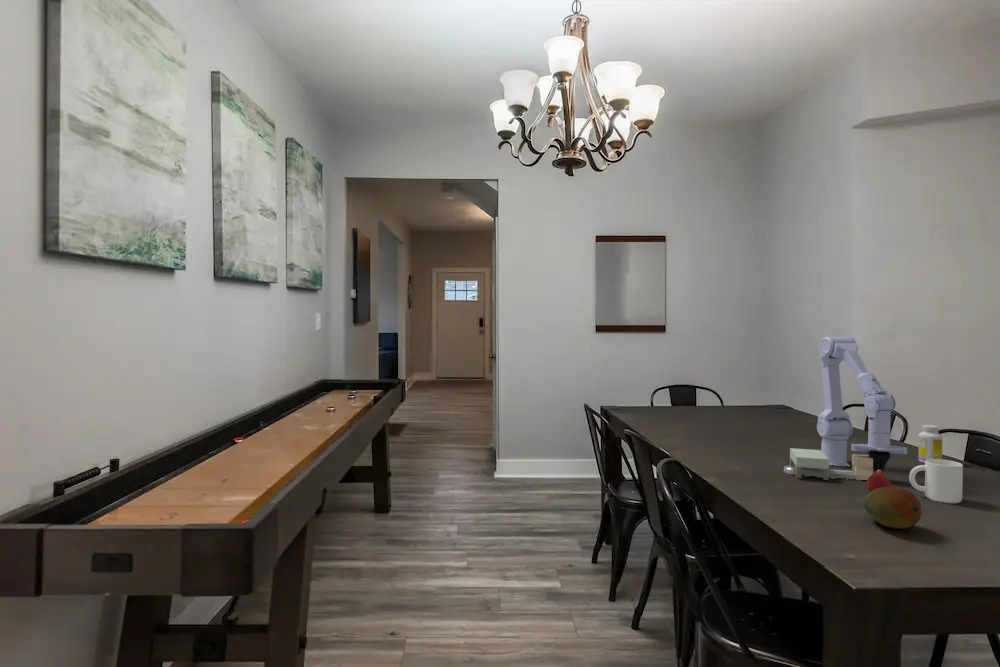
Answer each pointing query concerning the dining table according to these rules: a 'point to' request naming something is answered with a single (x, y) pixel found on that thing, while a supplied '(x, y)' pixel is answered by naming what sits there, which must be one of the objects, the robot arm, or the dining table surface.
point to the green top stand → (809, 461)
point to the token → (790, 469)
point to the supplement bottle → (930, 443)
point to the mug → (940, 480)
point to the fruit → (893, 507)
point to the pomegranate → (877, 481)
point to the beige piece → (860, 471)
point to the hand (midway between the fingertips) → (878, 475)
